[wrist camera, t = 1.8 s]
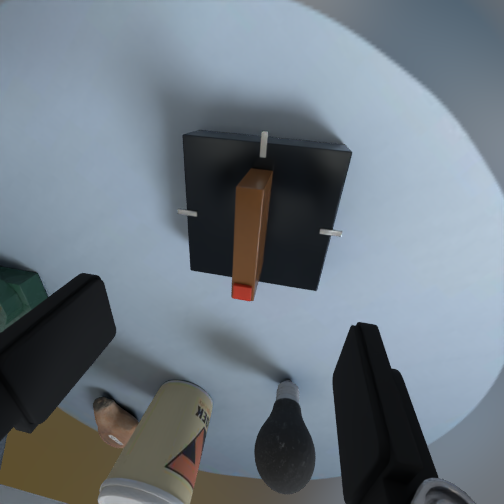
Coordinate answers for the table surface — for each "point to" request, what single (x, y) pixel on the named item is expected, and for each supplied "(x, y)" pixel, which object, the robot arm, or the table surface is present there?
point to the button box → (18, 294)
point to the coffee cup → (162, 449)
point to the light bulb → (285, 444)
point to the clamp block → (280, 206)
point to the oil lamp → (113, 422)
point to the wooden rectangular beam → (250, 231)
